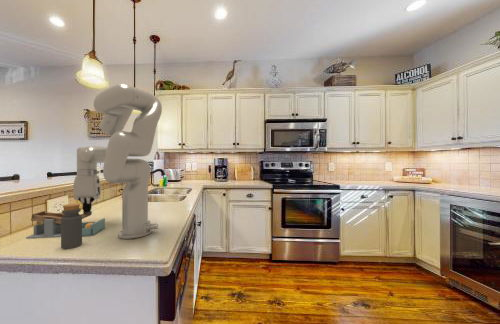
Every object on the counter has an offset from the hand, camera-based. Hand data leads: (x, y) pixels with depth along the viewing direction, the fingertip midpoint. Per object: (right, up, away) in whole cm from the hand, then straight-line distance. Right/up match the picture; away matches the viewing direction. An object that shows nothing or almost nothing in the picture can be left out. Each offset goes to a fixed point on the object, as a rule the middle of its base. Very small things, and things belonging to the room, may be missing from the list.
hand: (87, 211), depth 101 cm
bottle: (+13, -7, -24) cm, 28 cm away
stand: (-4, -7, -12) cm, 14 cm away
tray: (+8, -7, -10) cm, 14 cm away
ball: (+9, -4, -10) cm, 14 cm away
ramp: (-5, -2, -7) cm, 9 cm away
